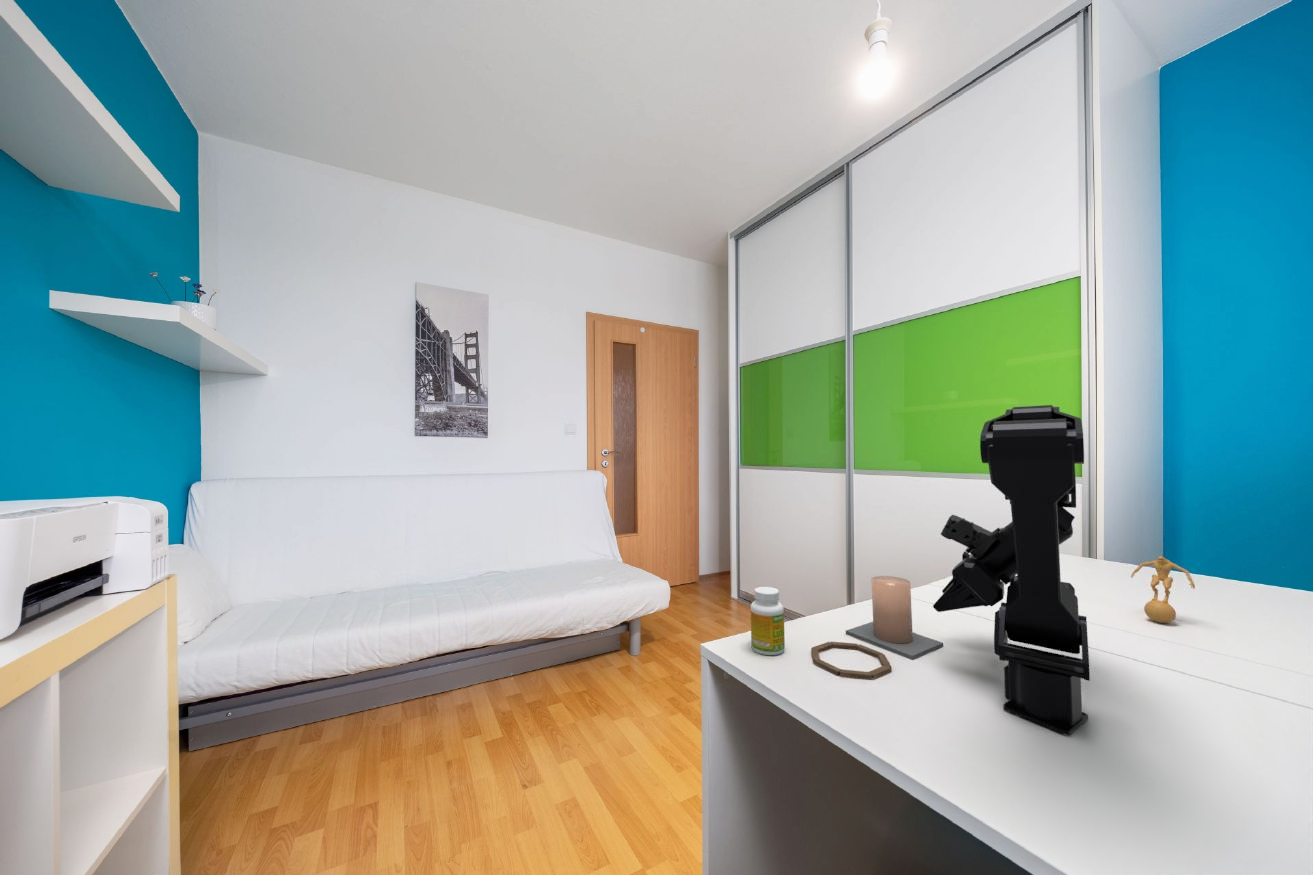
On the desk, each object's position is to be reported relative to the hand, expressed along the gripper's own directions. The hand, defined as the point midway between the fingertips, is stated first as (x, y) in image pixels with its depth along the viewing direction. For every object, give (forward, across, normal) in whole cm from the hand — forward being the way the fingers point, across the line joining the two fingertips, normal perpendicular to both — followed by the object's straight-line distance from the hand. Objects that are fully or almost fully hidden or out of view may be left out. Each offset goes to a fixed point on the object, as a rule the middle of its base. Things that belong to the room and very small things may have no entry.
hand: (940, 600), depth 75 cm
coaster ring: (+13, +12, -2) cm, 18 cm away
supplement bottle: (+22, +16, -10) cm, 29 cm away
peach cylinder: (+10, 0, 0) cm, 10 cm away
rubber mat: (+11, 0, +1) cm, 11 cm away
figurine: (-15, -39, +27) cm, 50 cm away
